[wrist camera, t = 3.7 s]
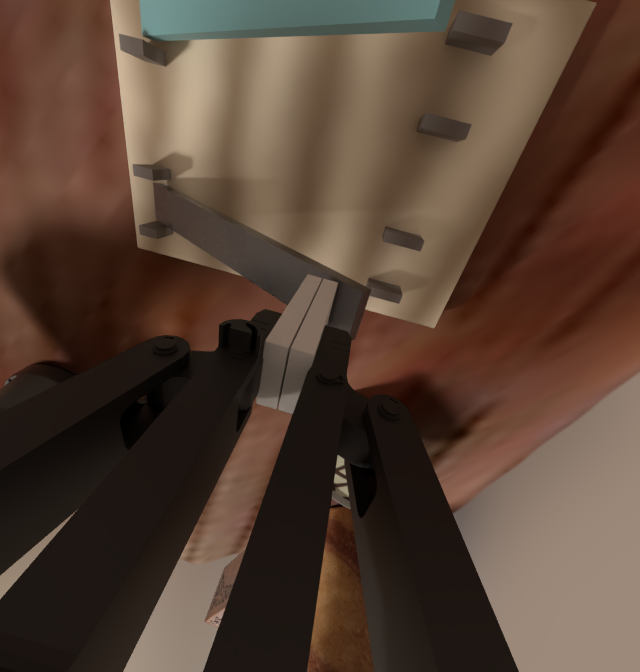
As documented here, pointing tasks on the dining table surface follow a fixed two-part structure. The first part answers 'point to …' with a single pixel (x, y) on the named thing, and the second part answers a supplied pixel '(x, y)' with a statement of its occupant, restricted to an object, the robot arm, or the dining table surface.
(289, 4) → the teal strap
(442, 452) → the dining table surface
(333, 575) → the wafer roll
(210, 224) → the charcoal strap
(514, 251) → the dining table surface
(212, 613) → the tissue box cover
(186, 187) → the mount
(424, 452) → the robot arm
